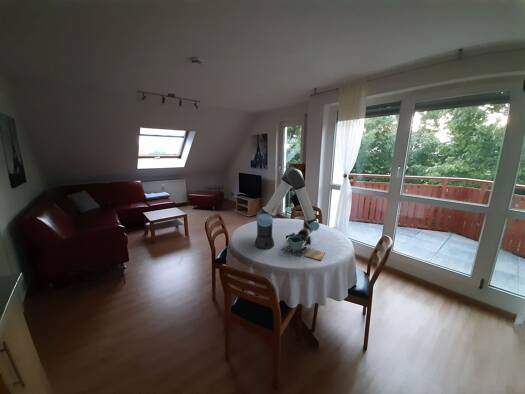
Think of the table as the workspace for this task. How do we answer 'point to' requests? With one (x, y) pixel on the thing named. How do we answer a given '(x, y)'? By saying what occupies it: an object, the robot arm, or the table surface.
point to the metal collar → (294, 252)
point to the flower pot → (295, 243)
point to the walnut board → (314, 254)
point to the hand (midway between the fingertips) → (294, 244)
